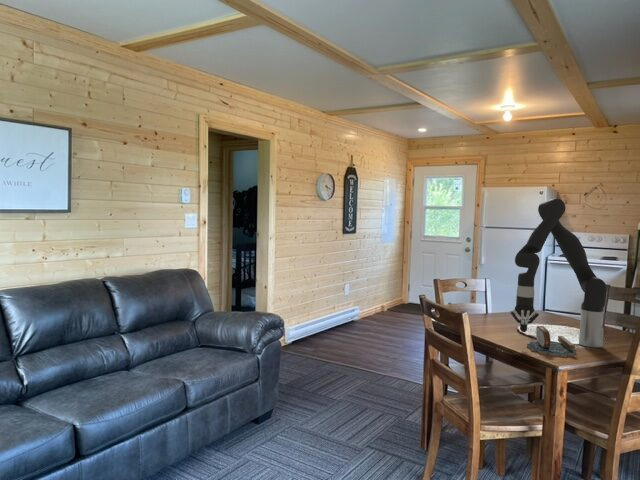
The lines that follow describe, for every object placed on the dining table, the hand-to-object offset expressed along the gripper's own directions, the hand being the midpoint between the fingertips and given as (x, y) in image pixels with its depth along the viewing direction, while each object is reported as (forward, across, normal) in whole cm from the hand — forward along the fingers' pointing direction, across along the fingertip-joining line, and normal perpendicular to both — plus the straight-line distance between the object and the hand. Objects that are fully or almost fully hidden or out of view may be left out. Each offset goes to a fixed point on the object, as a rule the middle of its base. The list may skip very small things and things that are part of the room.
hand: (523, 331), depth 219 cm
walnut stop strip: (+5, -19, 0) cm, 20 cm away
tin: (+6, -8, +1) cm, 10 cm away
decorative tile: (+8, -12, +2) cm, 15 cm away
